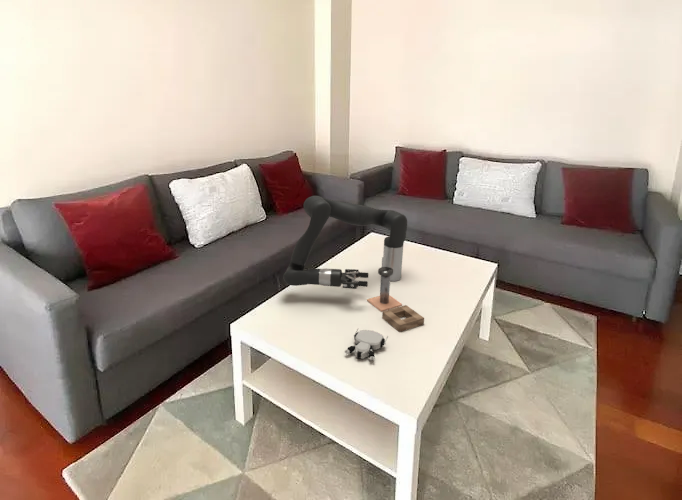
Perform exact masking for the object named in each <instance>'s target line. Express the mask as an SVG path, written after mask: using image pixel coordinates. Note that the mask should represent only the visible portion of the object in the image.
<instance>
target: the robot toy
mask: <svg viewBox="0 0 682 500" xmlns="http://www.w3.org/2000/svg"><path fill="white" fill-rule="evenodd" d="M358 330H359V328H357V329H356V331H355V334H353V339H354V341H355V345H351V346H348V347H347V349H345V350H344V353H345V354H347V355H348V354H352V353H353V352H354V354H355V357H356V358H357V359H362V360H363V359H365V358H367V357H368V356H369V360H370V361H375V359H376V358H375V351H374V350H378V349H380V348H382V347H383V346H384V345H386V343H387V340H388V338H389V335H386V339H385V338H384V337H385V336H384V335H383V334H381V333H380V332H378V331H374V330H370V329H360V330H359V331H358Z"/></svg>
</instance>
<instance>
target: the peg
mask: <svg viewBox="0 0 682 500" xmlns="http://www.w3.org/2000/svg"><path fill="white" fill-rule="evenodd" d="M377 274H378V275H380V285H379V286H380V287H379V289H380V290H379V296H380V303H382V304H387V303H389V295H390V289H391V287H390V285H391V281H390V276H391V275H393V269H392V268H389V267H382V266H381V267H379V268H378V270H377Z"/></svg>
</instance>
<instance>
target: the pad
mask: <svg viewBox="0 0 682 500" xmlns="http://www.w3.org/2000/svg"><path fill="white" fill-rule="evenodd" d="M366 301H367V302H368V303H369V304H370V305H372V307H375V308H376V309H377V310H378V311H379V312H381V313H383V311H387V310H390V309H394V308H397V307H401V306H403V304H402V302H400V301H398V300H397V299H396V298H394V297H393V296H392V295H390V294H389V303H387V304H382V303H380V295H377V296H374V297H371V298H367V299H366Z"/></svg>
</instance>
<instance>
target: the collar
mask: <svg viewBox="0 0 682 500" xmlns="http://www.w3.org/2000/svg"><path fill="white" fill-rule="evenodd" d="M381 313H382V314H381V315H382V316H381V317H382V320H384V321H385V322H386V323H388V324H389V325H390V326H391V327H393V328H394V329H395V330H397V332H399V333H402V332H404V331H407V330H410V329H414V328H417V327H420V326H423V325H424V324H425V317H424V316H423V315H421V314H419V313H418V312H417V311H415V309H412V308H411V307H409V306H408V305H406V304H405V305H402V306H400V307H396V308H393V309H389V310H386V311H382V312H381Z"/></svg>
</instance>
